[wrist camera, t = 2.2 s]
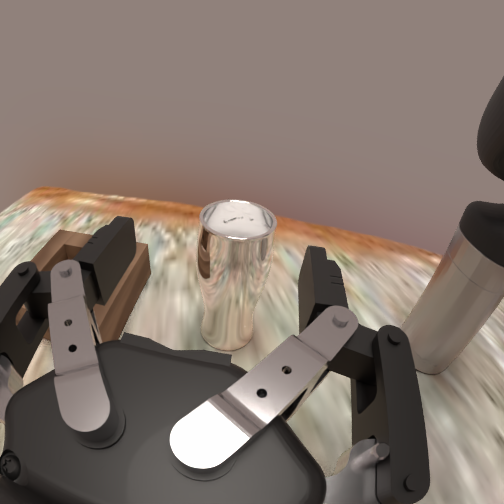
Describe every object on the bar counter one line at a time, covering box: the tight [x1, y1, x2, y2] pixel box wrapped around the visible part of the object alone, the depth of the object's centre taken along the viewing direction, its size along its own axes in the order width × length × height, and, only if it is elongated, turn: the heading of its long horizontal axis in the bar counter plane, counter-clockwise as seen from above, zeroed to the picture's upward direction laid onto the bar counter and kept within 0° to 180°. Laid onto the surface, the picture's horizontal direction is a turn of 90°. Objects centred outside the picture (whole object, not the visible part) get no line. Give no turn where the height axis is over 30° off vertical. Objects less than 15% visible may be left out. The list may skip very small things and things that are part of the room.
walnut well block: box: [16, 230, 151, 343], centre depth 32 cm, size 15×15×5 cm
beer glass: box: [196, 200, 277, 351], centre depth 29 cm, size 7×7×15 cm
